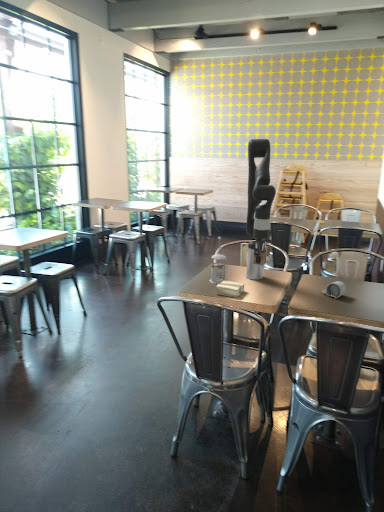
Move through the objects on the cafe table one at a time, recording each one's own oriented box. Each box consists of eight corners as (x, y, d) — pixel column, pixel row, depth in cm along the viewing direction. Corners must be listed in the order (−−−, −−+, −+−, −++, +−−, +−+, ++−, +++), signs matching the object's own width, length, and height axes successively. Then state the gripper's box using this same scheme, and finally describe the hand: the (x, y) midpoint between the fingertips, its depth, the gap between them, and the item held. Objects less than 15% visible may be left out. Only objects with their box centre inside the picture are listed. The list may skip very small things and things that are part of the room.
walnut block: (256, 261, 189) (256, 249, 188) (266, 262, 187) (266, 250, 185) (253, 263, 185) (253, 251, 183) (263, 265, 183) (263, 253, 181)
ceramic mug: (346, 296, 190) (348, 281, 188) (340, 300, 184) (341, 285, 182) (326, 291, 197) (327, 277, 195) (319, 295, 191) (320, 280, 189)
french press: (205, 280, 209) (206, 236, 203) (219, 276, 217) (221, 233, 210) (218, 285, 202) (219, 239, 196) (232, 281, 210) (234, 236, 203)
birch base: (224, 287, 199) (224, 280, 198) (244, 291, 195) (244, 283, 194) (215, 293, 190) (215, 286, 189) (236, 297, 185) (236, 289, 184)
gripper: (258, 224, 189) (256, 257, 194) (249, 229, 177) (247, 264, 181) (273, 226, 186) (271, 259, 190) (265, 231, 174) (262, 266, 178)
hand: (259, 261), depth 186 cm, fingers closed on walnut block, 5 cm apart
